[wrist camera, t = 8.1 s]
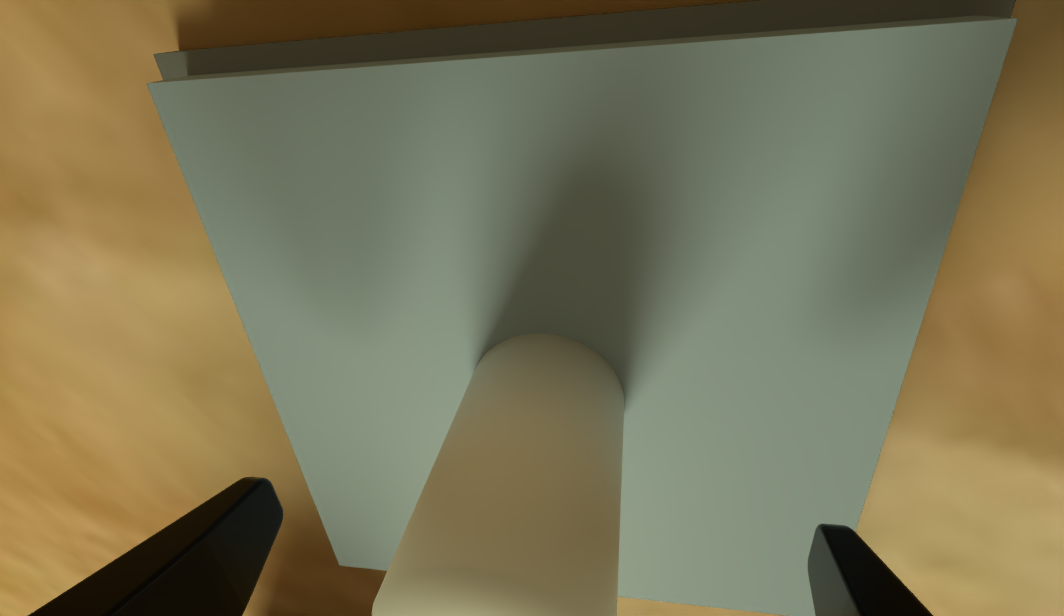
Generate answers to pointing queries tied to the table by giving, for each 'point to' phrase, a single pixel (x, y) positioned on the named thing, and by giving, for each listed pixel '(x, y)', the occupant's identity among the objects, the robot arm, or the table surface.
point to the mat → (570, 32)
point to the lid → (590, 297)
